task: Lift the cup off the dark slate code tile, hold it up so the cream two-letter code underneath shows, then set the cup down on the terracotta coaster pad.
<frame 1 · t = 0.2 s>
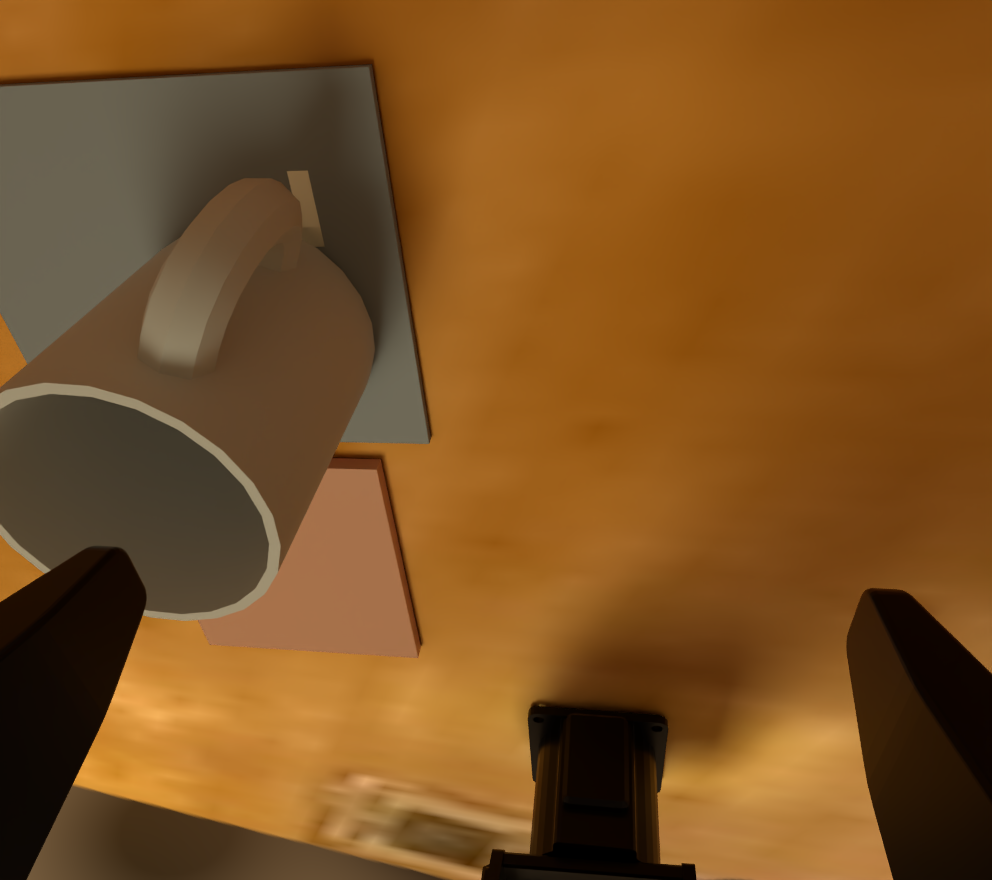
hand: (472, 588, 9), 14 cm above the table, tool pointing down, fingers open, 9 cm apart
cup: (279, 284, 23), resting on code tile
code tile: (191, 284, 23), on the table
coaster pad: (287, 558, 31), on the table
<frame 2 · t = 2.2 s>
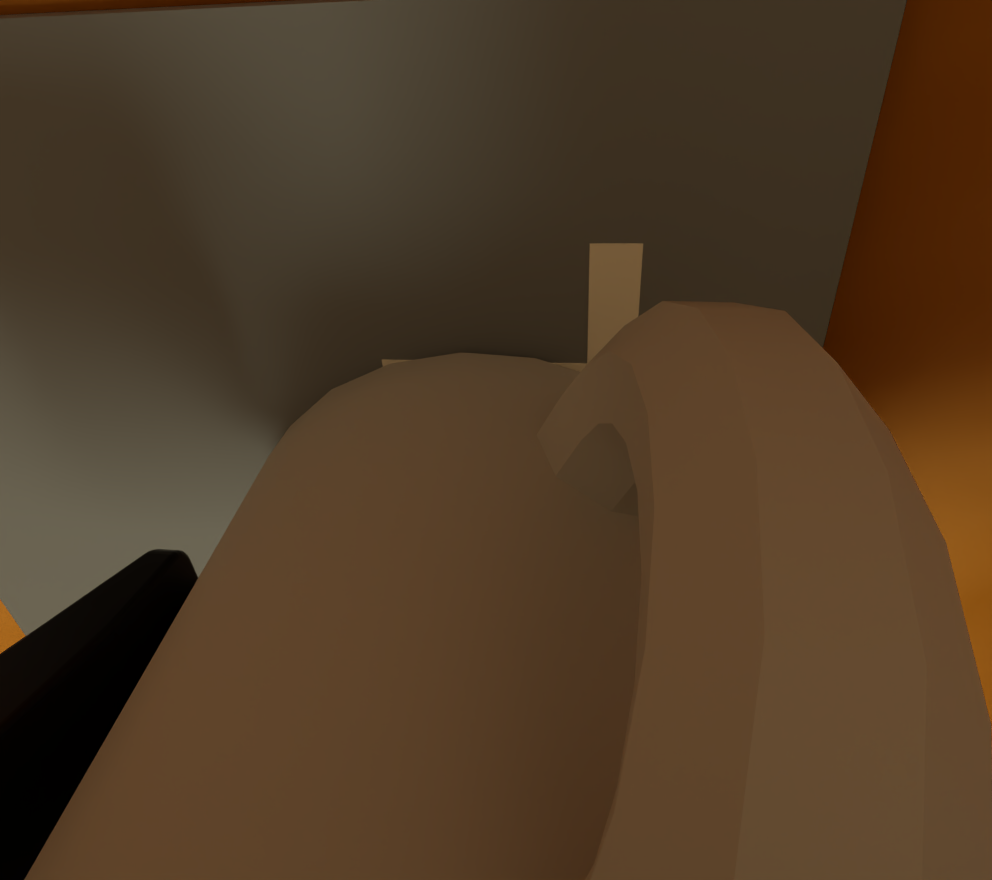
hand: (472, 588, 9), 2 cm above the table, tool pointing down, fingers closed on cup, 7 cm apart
cup: (536, 469, 11), resting on code tile, touching gripper
code tile: (310, 453, 11), on the table
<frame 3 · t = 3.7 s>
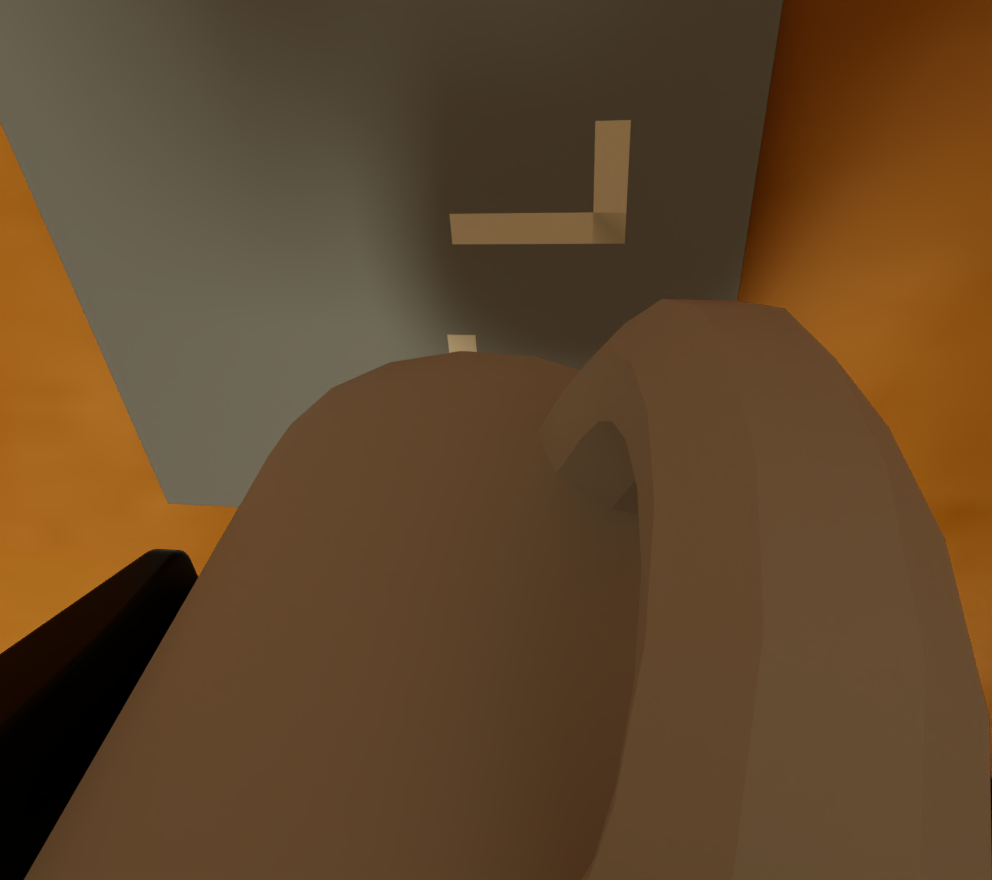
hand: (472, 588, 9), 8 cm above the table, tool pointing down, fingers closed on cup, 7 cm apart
cup: (536, 467, 11), point 5 cm above the table, touching gripper
code tile: (390, 297, 16), on the table
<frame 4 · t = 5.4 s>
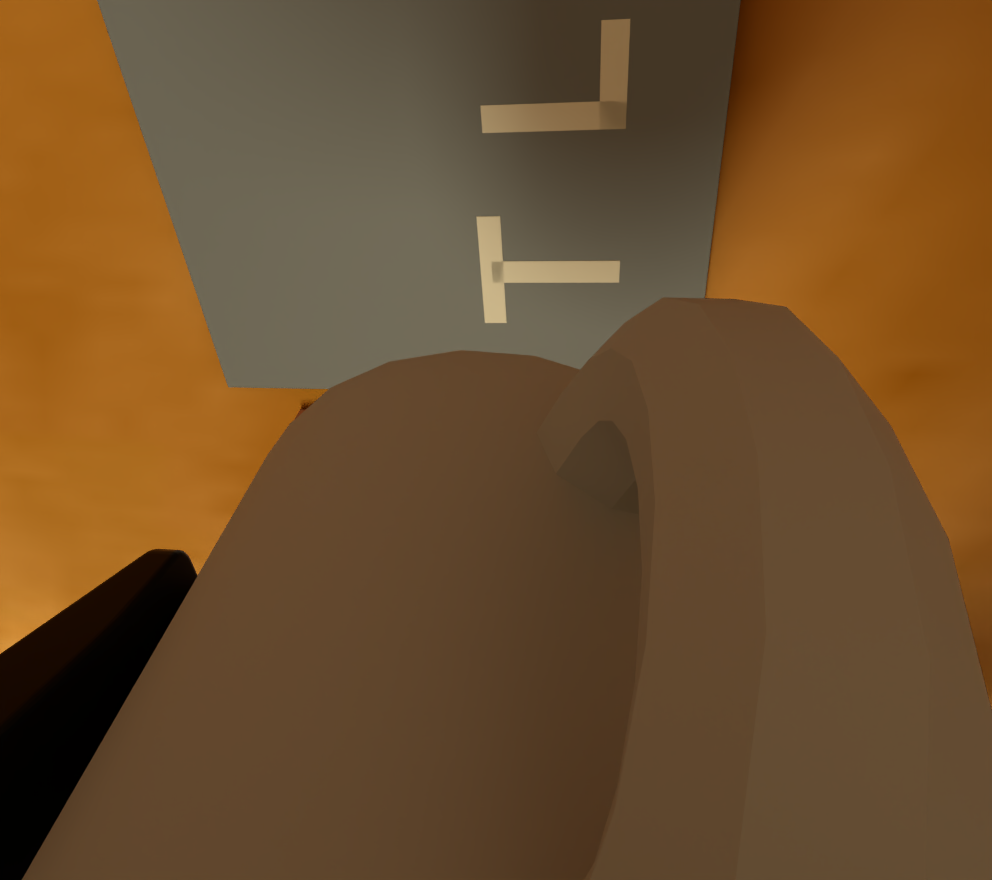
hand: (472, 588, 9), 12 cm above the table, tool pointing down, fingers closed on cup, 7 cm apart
cup: (536, 467, 11), point 10 cm above the table, touching gripper
code tile: (428, 185, 19), on the table
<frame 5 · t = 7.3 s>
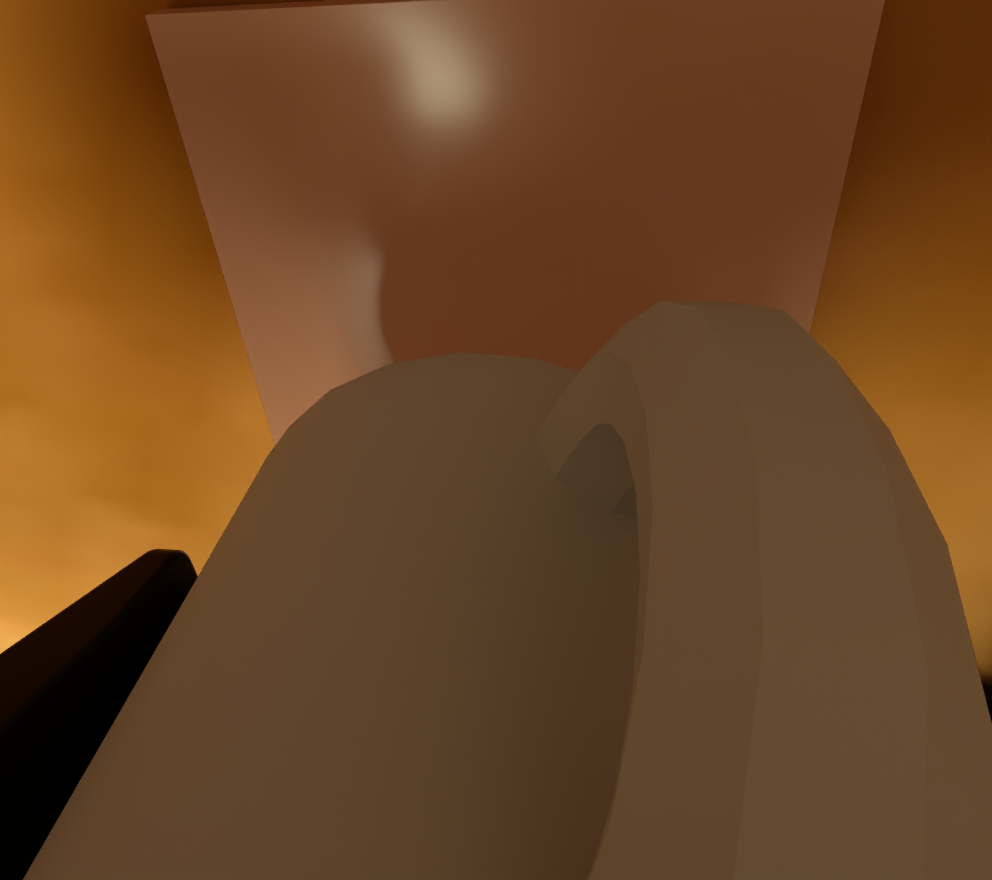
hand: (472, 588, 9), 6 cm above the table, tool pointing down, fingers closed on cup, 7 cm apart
cup: (535, 469, 11), point 4 cm above the table, touching gripper
coaster pad: (514, 336, 14), on the table
when the fingers open (4 cm above the table, at t = 8.7 s): cup stays where it is, resting on coaster pad.
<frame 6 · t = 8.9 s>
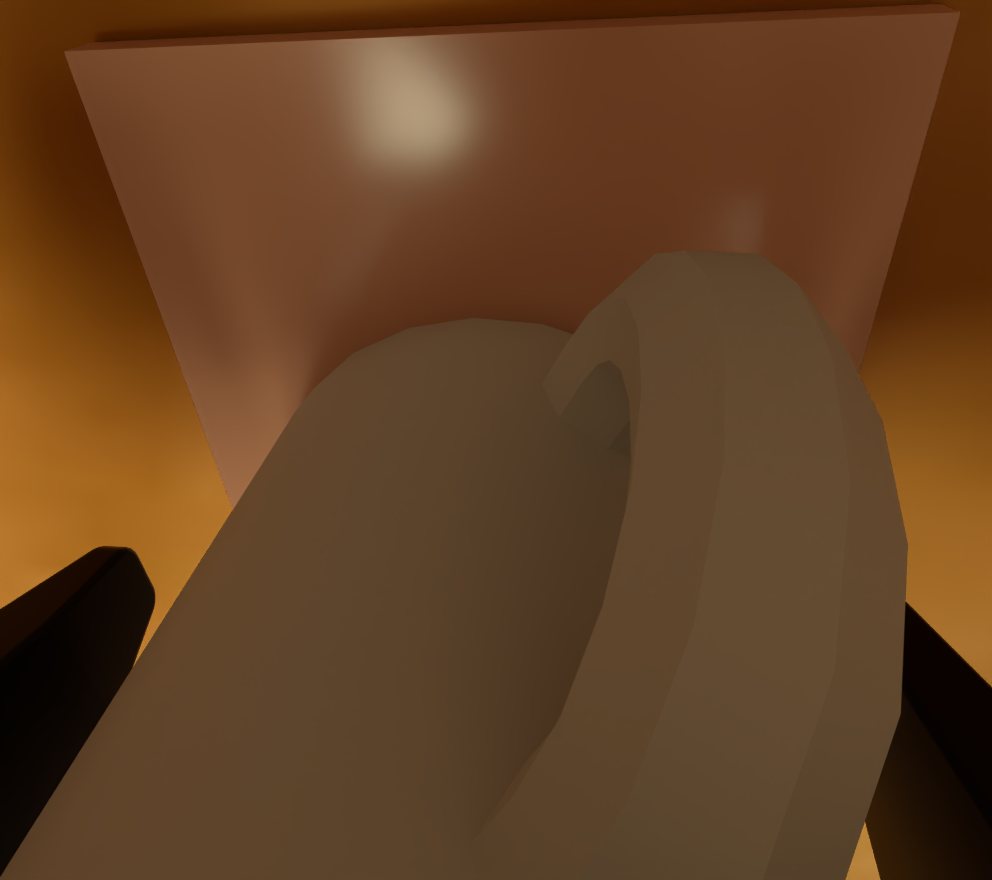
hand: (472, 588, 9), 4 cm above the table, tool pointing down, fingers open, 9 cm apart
cup: (540, 435, 12), resting on coaster pad
coaster pad: (506, 409, 12), on the table
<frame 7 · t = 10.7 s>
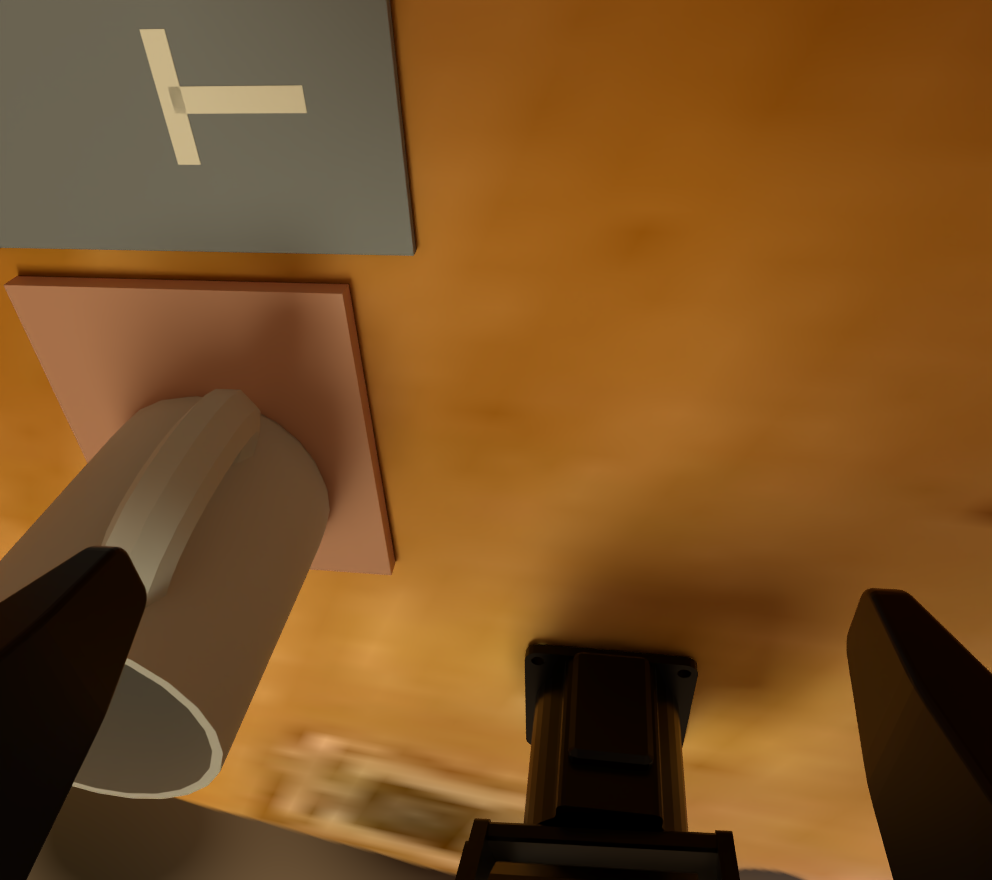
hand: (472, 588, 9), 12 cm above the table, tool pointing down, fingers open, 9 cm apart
cup: (240, 447, 24), resting on coaster pad
coaster pad: (227, 435, 24), on the table
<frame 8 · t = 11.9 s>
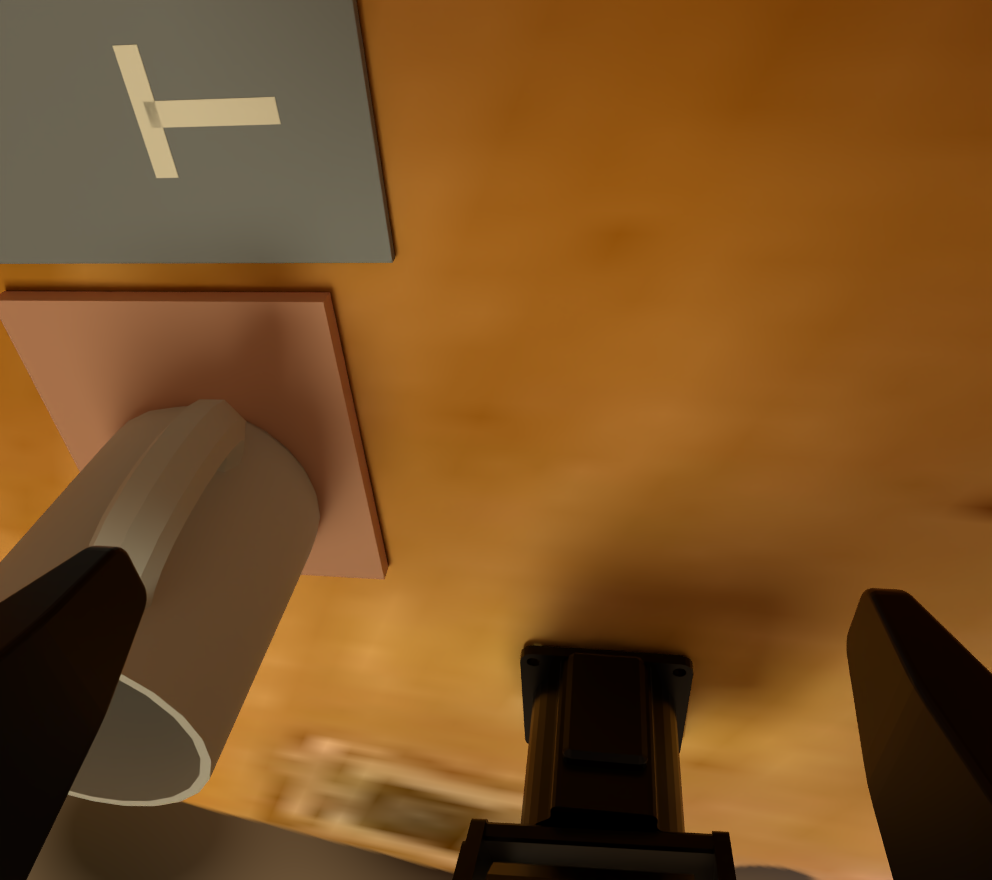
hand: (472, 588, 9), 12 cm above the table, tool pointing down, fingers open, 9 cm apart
cup: (230, 455, 24), resting on coaster pad
code tile: (60, 11, 17), on the table
coaster pad: (217, 444, 24), on the table
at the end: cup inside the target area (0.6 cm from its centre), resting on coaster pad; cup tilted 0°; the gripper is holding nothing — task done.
